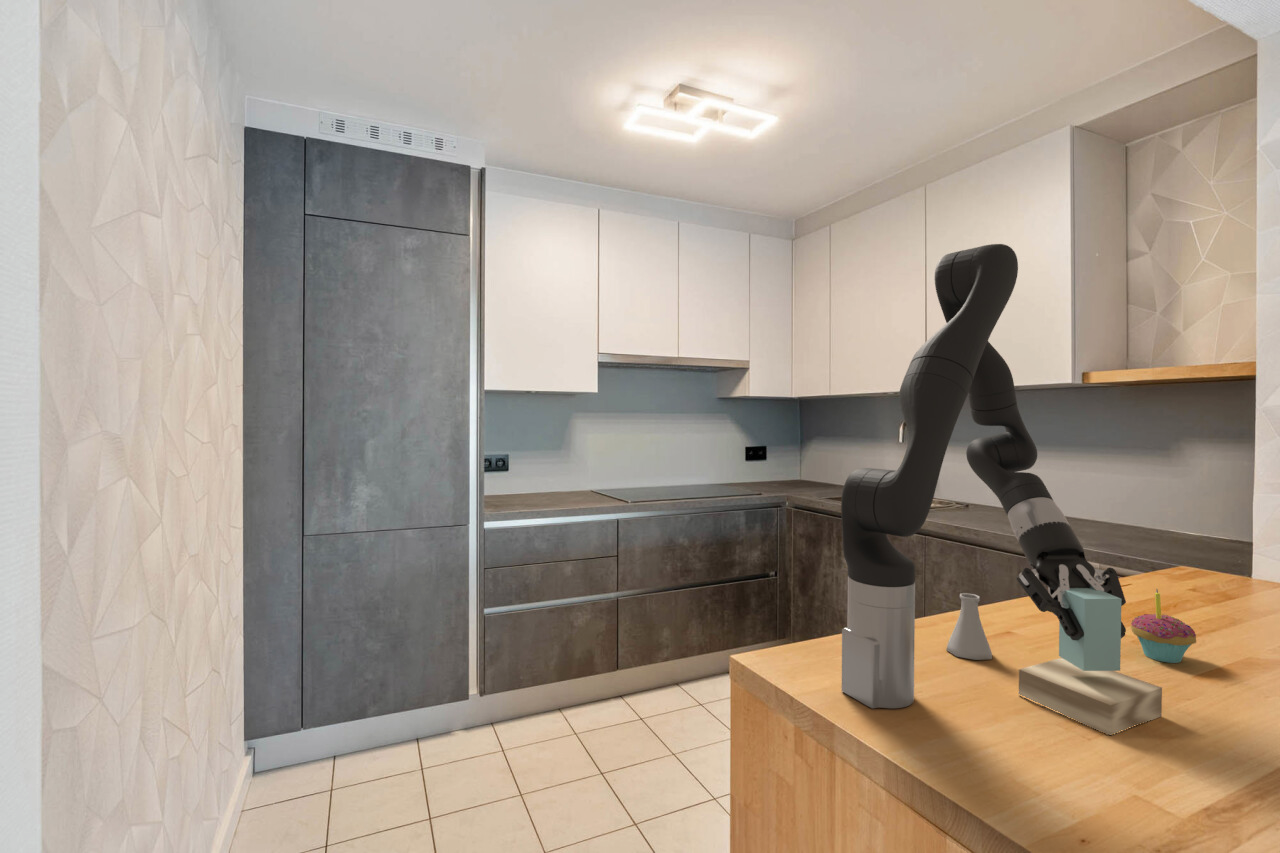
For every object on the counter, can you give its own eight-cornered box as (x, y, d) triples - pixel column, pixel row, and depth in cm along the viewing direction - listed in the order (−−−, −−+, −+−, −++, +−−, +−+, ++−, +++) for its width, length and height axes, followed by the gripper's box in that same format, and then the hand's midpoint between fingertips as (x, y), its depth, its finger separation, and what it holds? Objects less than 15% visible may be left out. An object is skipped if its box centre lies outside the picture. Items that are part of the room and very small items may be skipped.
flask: (999, 663, 101) (1000, 603, 101) (952, 659, 103) (953, 600, 102) (984, 646, 108) (985, 591, 108) (940, 643, 110) (941, 588, 109)
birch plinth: (1110, 736, 78) (1110, 705, 78) (1018, 696, 89) (1019, 669, 89) (1161, 716, 84) (1162, 687, 83) (1068, 681, 94) (1069, 655, 94)
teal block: (1120, 670, 84) (1121, 598, 84) (1083, 670, 84) (1084, 598, 84) (1093, 655, 89) (1094, 587, 89) (1058, 655, 89) (1059, 588, 89)
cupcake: (1180, 671, 98) (1182, 597, 98) (1119, 653, 105) (1120, 584, 105) (1205, 661, 102) (1207, 590, 101) (1144, 644, 109) (1145, 577, 109)
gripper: (1008, 520, 93) (1060, 626, 82) (1102, 519, 93) (1168, 625, 82) (988, 546, 99) (1034, 649, 87) (1077, 546, 99) (1135, 649, 87)
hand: (1099, 637), depth 84 cm, fingers closed on teal block, 5 cm apart
